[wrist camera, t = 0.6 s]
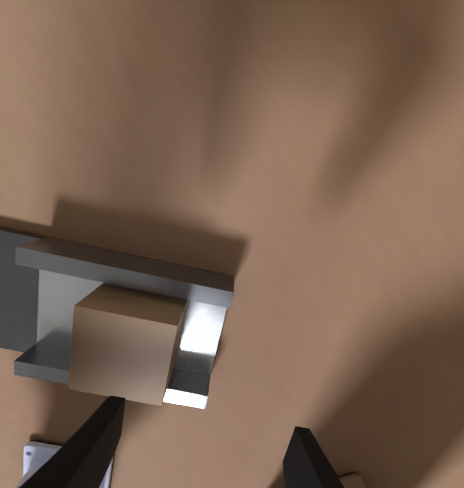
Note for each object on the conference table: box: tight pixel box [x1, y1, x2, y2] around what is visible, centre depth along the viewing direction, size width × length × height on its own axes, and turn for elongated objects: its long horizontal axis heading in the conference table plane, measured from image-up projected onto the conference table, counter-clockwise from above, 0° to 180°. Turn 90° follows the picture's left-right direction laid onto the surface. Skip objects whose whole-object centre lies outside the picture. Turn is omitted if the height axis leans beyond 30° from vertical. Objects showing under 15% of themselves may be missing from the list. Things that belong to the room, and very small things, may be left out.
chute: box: [0, 227, 234, 409], centre depth 17 cm, size 10×24×3 cm, turn 77°
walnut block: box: [68, 283, 188, 406], centre depth 16 cm, size 6×6×4 cm
